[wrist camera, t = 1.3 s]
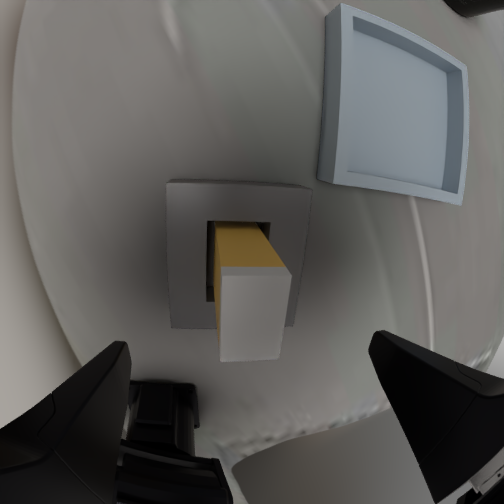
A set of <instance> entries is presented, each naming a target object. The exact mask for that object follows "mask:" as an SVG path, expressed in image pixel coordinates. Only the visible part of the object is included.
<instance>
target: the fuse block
mask: <svg viewBox="0 0 504 504" xmlns="http://www.w3.org/2000/svg"><path fill="white" fill-rule="evenodd" d="M311 199H312V189H309V188H307V187H304V186H301V185H290V184H277V183H263V182H245V181H223V180H176V179H171V180H169V181H168V182H167V183H166V251H167V275H168V292H169V306H170V318H171V328H181V329H217V322H216V310H215V297H214V287H206V243H207V220H210V221H248V222H263V228H262V233H263V234H264V236H265V237H266V238H267V240H268V241H269V243H270V244H271V246H272V247H273V249H274V250H275V252H276V253H277V254H278V256H279V257H280V259H281V260H282V262H283V263H284V265H285V266H286V268H287V269H288V271H289V272H290V274H291V275H292V278H291V285H290V292H289V299H288V305H287V312H286V318H285V325H284V327H286V326H293V324H294V318H295V312H296V306H297V300H298V294H299V288H300V281H301V275H302V268H303V261H304V254H305V247H306V240H307V232H308V225H309V216H310V208H311Z"/></svg>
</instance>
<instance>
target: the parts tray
mask: <svg viewBox="0 0 504 504" xmlns="http://www.w3.org/2000/svg"><path fill="white" fill-rule="evenodd" d="M468 144H469V90H468V76H467V66H466V65H464V64H463V63H462V62H460V61H459V60H457V59H456V58H454V57H453V56H451V55H450V54H448V53H447V52H445V51H443V50H442V49H440V48H438V47H437V46H435V45H433V44H432V43H430V42H428V41H427V40H425V39H423V38H421V37H419V36H418V35H416V34H414V33H412V32H410V31H408V30H406V29H404V28H402V27H400V26H398V25H396V24H394V23H391V22H389V21H387V20H385V19H382V18H380V17H378V16H375V15H373V14H370V13H368V12H365V11H363V10H360V9H357V8H355V7H352V6H349V5H346V4H343V3H340V4H339V5H338V6H337V7H335V8H334V9H333V10H332V11H331V12H330V13H329V14H328V15H327V16H326V17H325V68H324V91H323V109H322V124H321V137H320V149H319V160H318V170H317V179H318V180H321V181H325V182H329V183H332V184H339V185H347V186H354V187H362V188H369V189H375V190H382V191H388V192H394V193H400V194H406V195H412V196H417V197H422V198H428V199H433V200H438V201H442V202H447V203H452V204H456V205H461V206H462V200H463V193H464V186H465V178H466V169H467V158H468Z"/></svg>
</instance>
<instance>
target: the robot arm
mask: <svg viewBox="0 0 504 504" xmlns="http://www.w3.org/2000/svg"><path fill="white" fill-rule="evenodd" d="M368 352H369V355H370V358H371V361H372V363H373V366H374V368H375V371H376V373H377V376H378V379H379V381H380V384H381V386H382V388H383V390H384V392H385V394H386V396H387V398H388V400H389V402H390V404H391V406H392V408H393V410H394V412H395V414H396V416H397V418H398V420H399V423H400V425H401V426H402V429H403V431H404V433H405V435H406V437H407V439H408V442H409V444H410V446H411V448H412V451H413V453H414V455H415V457H416V459H417V462H418V464H419V467H420V469H421V471H422V474H423V476H424V479H425V481H426V483H427V486H428V488H429V490H430V493H431V496H432V498H433V501H434V503H435V504H437V503H439V502H440V501H442V500H443V499H445V498H446V497H448V496H449V495H451V494H452V493H454V492H455V491H456V490H458V489H459V488H460V487H462V486H463V485H464V484H466V483H467V482H469V483H470V485H471V486H472V488H471V489H470V490H469V491H467V492H466V493H465V494H464V495H462V496H461V497H460V498H458V499H457V503H456V504H504V379H502V378H499V377H496V376H493V375H490V374H487V373H484V372H481V371H479V370H476V369H473V368H470V367H468V366H465V365H463V364H461V363H458V362H456V361H455V362H454V360H451V359H449V358H447V357H444V356H442V355H440V354H437V353H435V352H433V351H430V350H428V349H426V348H424V347H421V346H419V345H417V344H415V343H412V342H410V341H408V340H406V339H403V338H401V337H399V336H397V335H394V334H392V333H390V332H388V331H385V330H381V331H376V332H375V333H374V334H373V337H372V340H371V343H370V345H369V349H368ZM130 375H131V357H130V353H129V348H128V344H127V343H126V342H125V341H114V342H113V343H112V344H110V345H109V346H108V347H107V348H105V349H104V350H103V351H102V352H100V353H99V354H98V355H97V356H95V357H94V358H93V359H92V360H90V361H89V362H88V363H87V364H85V365H84V366H83V367H82V368H80V369H79V370H78V371H77V372H76V373H74V374H73V375H72V376H71V377H69V378H68V379H67V380H66V381H65V382H63V383H62V384H61V385H60V386H59V387H57V388H56V389H55V390H54V391H52V394H51V393H50V394H49V395H47V396H46V397H45V398H44V399H43V400H41V401H40V402H39V403H38V404H36V405H35V406H34V407H32V408H31V409H29V410H28V411H26V412H25V413H24V414H23V415H21V416H19V417H18V418H16V419H15V420H13V421H11V422H10V423H8V424H7V425H5V426H4V427H2V428H1V429H0V504H233V497H232V493H231V491H230V488H229V485H228V483H227V480H226V477H225V475H224V472H223V469H222V466H221V464H220V461H219V459H217V458H211V459H210V458H203V457H196V456H195V444H194V429H196V428H199V427H200V423H199V413H198V403H197V393H196V387H195V386H194V385H190V384H160V383H144V382H131V381H130ZM127 405H129V408H130V411H131V412H130V417H129V423H128V429H127V435H126V440H124V439H121V436H122V430H123V425H124V420H125V415H126V410H127Z"/></svg>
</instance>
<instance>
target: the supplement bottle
mask: <svg viewBox="0 0 504 504" xmlns="http://www.w3.org/2000/svg"><path fill="white" fill-rule="evenodd" d="M445 2H446V3H447V4H448V5H449V6H450V7H451V8H453V9H454V10H455V11H456V12H458V13H459V14H461V15H463V16H466V17H474V16H478V15H482V14H486V13H490V12H494V11H499V10H504V0H445Z"/></svg>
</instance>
